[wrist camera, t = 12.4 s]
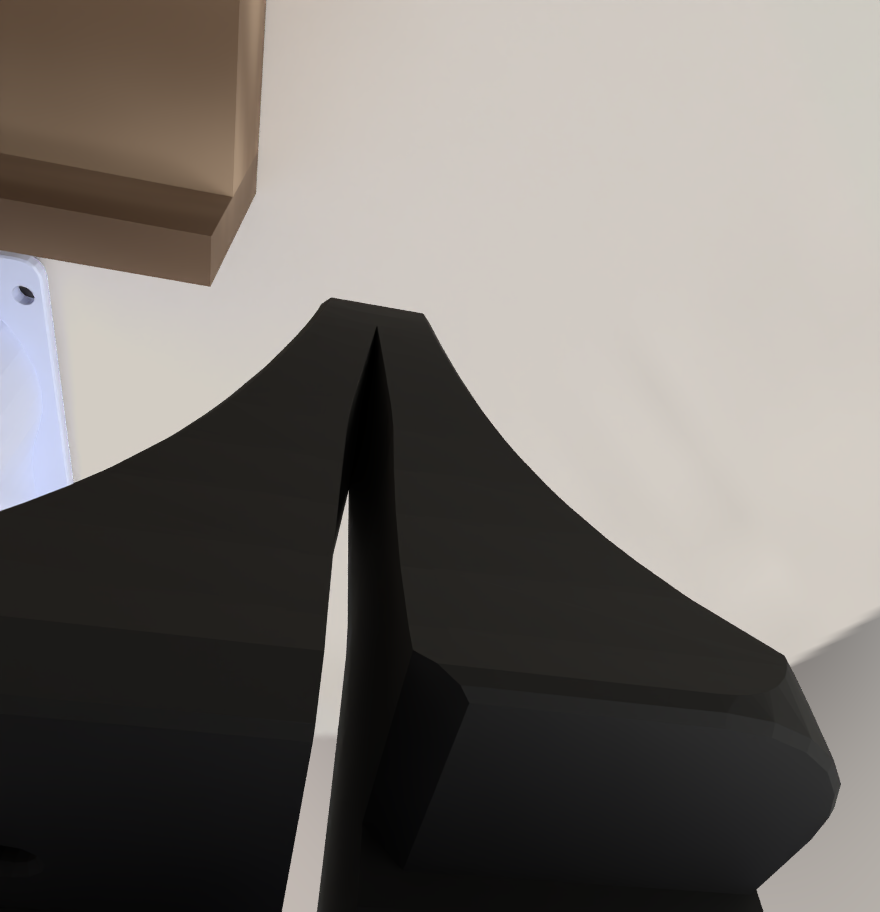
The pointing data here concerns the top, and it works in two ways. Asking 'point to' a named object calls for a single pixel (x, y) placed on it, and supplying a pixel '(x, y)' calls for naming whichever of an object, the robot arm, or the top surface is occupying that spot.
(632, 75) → the top surface
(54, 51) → the trap box
